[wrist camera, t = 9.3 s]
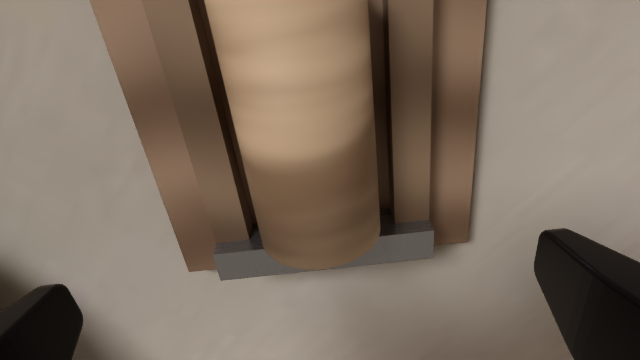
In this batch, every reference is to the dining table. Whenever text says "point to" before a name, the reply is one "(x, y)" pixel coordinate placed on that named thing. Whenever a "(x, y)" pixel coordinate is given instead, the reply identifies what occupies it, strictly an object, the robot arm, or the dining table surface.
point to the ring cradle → (223, 149)
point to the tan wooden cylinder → (303, 123)
